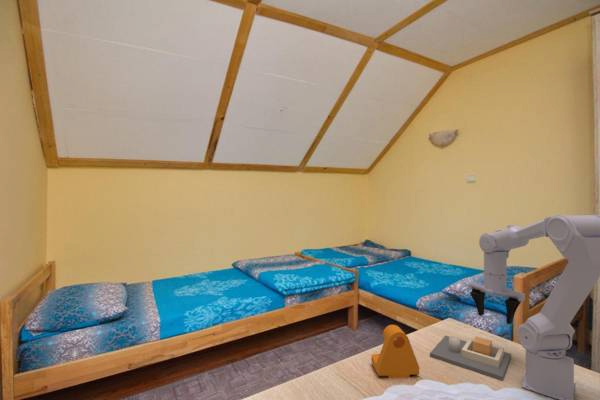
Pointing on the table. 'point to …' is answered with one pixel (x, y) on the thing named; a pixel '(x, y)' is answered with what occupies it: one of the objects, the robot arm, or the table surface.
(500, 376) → the board
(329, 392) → the table surface
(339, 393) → the table surface
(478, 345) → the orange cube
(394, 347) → the bracket
